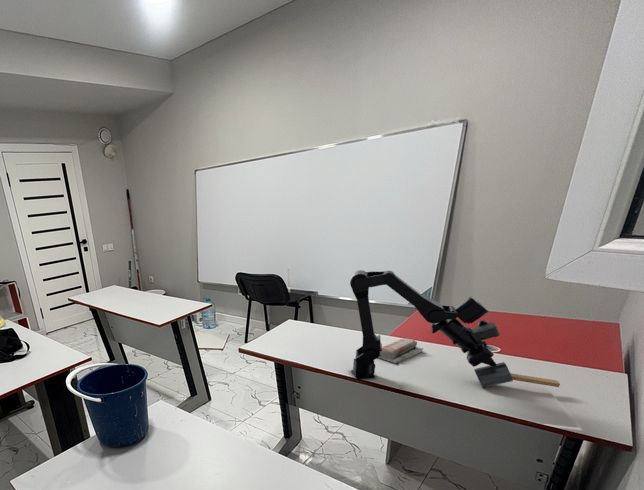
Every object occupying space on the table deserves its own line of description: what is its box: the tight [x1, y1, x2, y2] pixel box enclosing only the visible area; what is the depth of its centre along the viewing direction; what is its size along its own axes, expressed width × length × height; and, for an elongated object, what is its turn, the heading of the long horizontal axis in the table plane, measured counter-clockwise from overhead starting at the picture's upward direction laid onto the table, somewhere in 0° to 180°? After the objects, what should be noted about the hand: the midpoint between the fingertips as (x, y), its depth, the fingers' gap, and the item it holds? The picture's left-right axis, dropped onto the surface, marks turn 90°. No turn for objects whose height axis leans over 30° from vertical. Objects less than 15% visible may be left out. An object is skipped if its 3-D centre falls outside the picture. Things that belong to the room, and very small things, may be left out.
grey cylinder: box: [473, 361, 514, 388], centre depth 117 cm, size 6×6×8 cm
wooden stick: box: [510, 372, 561, 388], centre depth 114 cm, size 1×2×19 cm
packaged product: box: [377, 338, 424, 364], centre depth 147 cm, size 18×5×10 cm
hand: (494, 365), depth 115 cm, fingers closed, pressing on grey cylinder
